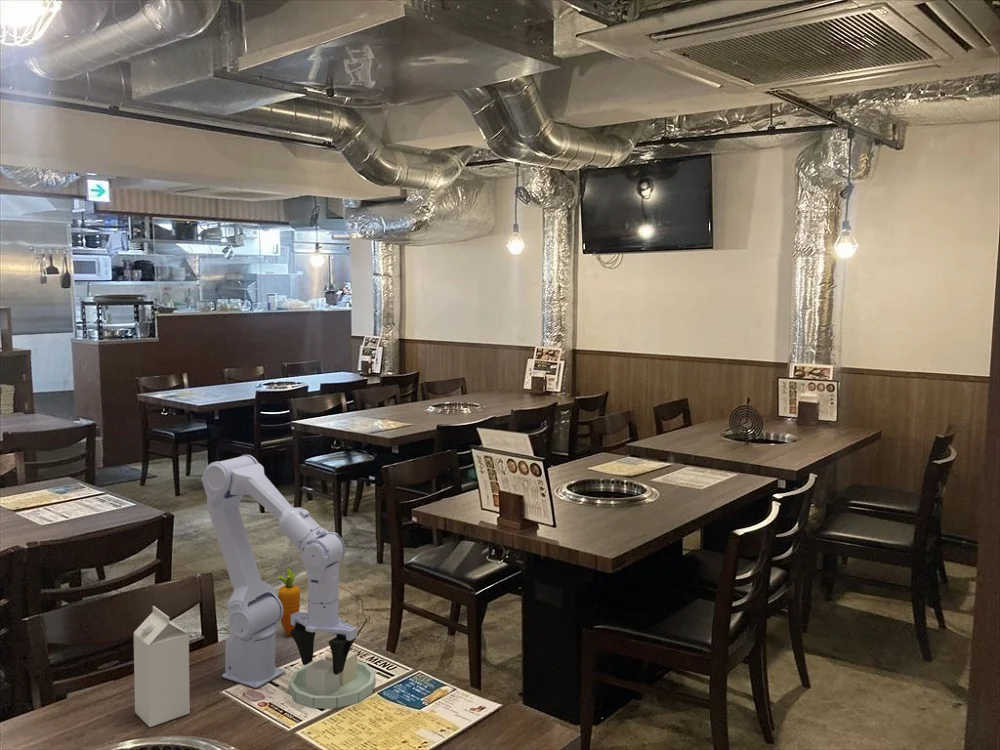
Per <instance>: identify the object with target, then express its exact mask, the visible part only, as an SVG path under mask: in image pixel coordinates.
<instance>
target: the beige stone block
mask: <svg viewBox="0 0 1000 750" xmlns="http://www.w3.org/2000/svg"><path fill="white" fill-rule="evenodd" d="M324 660H328V661H331V662H333V658H332V652H331V653H329V654H327V655H325V657H324ZM357 661H358V652H355V651H352V650H349V652H348V655H347V658H346V662H345V665H344V670H343V671H342V672H341V673H339V685H340V686H344V685H346V684H347V683H349V682H350V681H352V680H353V679H355V678H357Z"/></svg>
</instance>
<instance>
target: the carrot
mask: <svg viewBox="0 0 1000 750" xmlns="http://www.w3.org/2000/svg"><path fill="white" fill-rule="evenodd" d="M291 569H292V568H286V573H287V576H286V577H284V576H278V578H277V579H278V580H280V581H282V582H283V584H284V585H283V586H281V587H279V589H278V596H277V597H278V598H279V599H280V601H281V603H282V605H283V616H282V618H281V620H280V623H281V625H282V628H283V630H284V632H285V633H286V635H287V636H288V635H290V636H291V634H290V631H291V630H292V629H294V628H295V625H291V615H292V614H294V613H296V612H300V603H301V588H300V587H299V586H298V585H296V584H294V580H295V577H296V573H295V572H292V570H291Z"/></svg>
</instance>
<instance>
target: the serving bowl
mask: <svg viewBox="0 0 1000 750" xmlns="http://www.w3.org/2000/svg"><path fill="white" fill-rule="evenodd" d="M315 662H316V661H315ZM315 662H310V663H308V664H307V665H303V666H302V667H301V668H299V669H297V670H296V671H294V672H292V675H291V677H290V679H289V680H288V694H289V696H290V697H291V696H292V697H291V698H292V699H293V701H294V702H295V703H296V702H297V703H296V704H299V703H300V704H299V705H302V706H306V707H308V708H312V709H313V708H314V709H339V708H343V707H347V706H351V705H354V704H358V703H360V702H362V701H363V700H364V699H366V698H367V697H369V696H371V695H372V694H373V692H374V689H375V684H376V672H375V671H374V669H372V668H371V666H370V665H368V664H367V663H365V662H361V661H358V660H357V678H355V679H353V680H352V681H350V682H349V683H347V684H346V685H344V686H340V685H339V689H338V690H337V691H335V692H334V693H332V694H330V695H329V696H315V695H312V694H308V693H306V667H308V666H310V665H311V664H313V663H315Z"/></svg>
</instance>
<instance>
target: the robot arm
mask: <svg viewBox="0 0 1000 750" xmlns="http://www.w3.org/2000/svg"><path fill="white" fill-rule="evenodd" d="M201 483H202V486H203V489H204V492H205V494H206V505H207V510H208V513H209V516H210V518H211V523H212V526H213V528H214V532H215V535H216V538H217V541H218V544H219V547H220V551H221V553H222V554H221V555H222V557H223V560H224V564H225V566H226V570H227V573H228V576H229V579H230V582H231V586H232V590H233V592H232V593H231V595H230V597H229V599H228V601H227V603H226V608H227V613H228V619H227V620H228V626H229V630H230V631H231V632H230V633H229V635H228V636H227V637H226V641H225V645H224V650H225V653H224V654H225V655H224V659H225V660H224V661H225V662H224V663H225V668H224V669H225V671H224V672H225V673H223V674H222V675H221V677H222V678H224V679H226V680H230V681H233V682H235V683H239V684H242V685H245V686H247V687H250V688H255V689H258V688H260V687H262V686H264V685H265V684H266V683H269V682H271V681H272V680H274V679H276V678H278V677H279V676H282V675H283V674H285V673H286V672H285V671H286V670H285V669H283V668H280V667H276V630H277V628H278V623H279V622H281V618H282V616H283V605H282V603H281V601H280V599H279V598H278V596H277V594H276V592H275V590H274V586H273V585H272V584H270V583H268V582H265V581H264V580H262V578H261V575H260V571H259V568H258V565H257V562H256V559H255V556H254V552H253V549H252V546H251V543H250V540H249V537H248V534H247V530H246V527H245V524H244V521H243V517H242V515H241V512H240V508H239V505H240V503H241V501H242V499H243V497H244V496H251V498H253V499H254V500H255V501H256V502H257V503H259V504H260V505H261V506H263V508H264V509H266V510H267V511H268V513H270V514H272V516H273V517H275V518H276V519H277V520H278V529H279V531H280V532H281V533H282V534H283V535H284V536H285V537H286V538H287V539H288V540H289V541H290V542H291V543H292V544H293V545H294V546H295V547H296V549H298V550H299V551H300V552H301V553H300V557H301V561H302V563H303V565H304V566H305V571H306V574H305V575H306V576H307V612H300V611H299V612H296V613H294V614H292V615H291V625H295V628H294V629H292V630H291V631H290V634H291V635H290V636H291V637H292V639H293V641H294V642H295V644H296V646H297V650H298V652H299V656H300V659H301V663H302V665H303V666H306V665H307V664H310V663H313V658H314V644H315V638H316V633H317V632H318V633H319V632H321V633H327V634H331V635H335V636H336V637H334V638H332V639H330V640H328V645H329V647H330V652H331V653H332V658H333V673H334V674H335V675H338V674H339V673H341V672H342V671H343V670H344V665H345V662H346V658H347V655H348V652H349V651H351V648H352V646H353V644H354V642H355V640H356V639H357V637H358V636H357V635H358V632H357V631H358V629H357V626H353V625H351V624H349V623H348V622H346V621H344V620H343V619H341V618H340V617H339V610H340V609H339V608H340V607H339V605H340V603H339V600H340V599H339V597H340V595H339V594H340V591H339V590H340V589H339V588H340V582H339V581H340V561H341V560H342V559H343V558H344V556H345V554H346V545H345V542H344V540H343V539H342V537H341V536H340V535H339V533H337V532H334V531H328V530H327V529H325V528H324V527H322V526H321V525H319V523H317V521H315V519H314V518H313V517H312V516H311V515H310V512H309V511H308V510H307V508H306V509H304V508H302V507H293V506H292V505H291V504H290V503H289V502H288V499H287V500H286V498H285V497H284V495H283V494H282V493H281V492H280V491H279V490H278V488H276V486H275V485H274V484H273V483H272V482H271V481H270V479H269V478H268V477H267V475H266V474H265V468H264V466H263V465H262V464H261V463H259V461H258V460H257V459H256V458H255V457H254V456H252V455H251V454H243V455H240V456H238V457H234V458H233V457H232V458H229V459H225V460H220V461H214V462H211V463H209V464H208V465H207V467H206V468H205V470H204V472H203V474H202V476H201Z"/></svg>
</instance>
